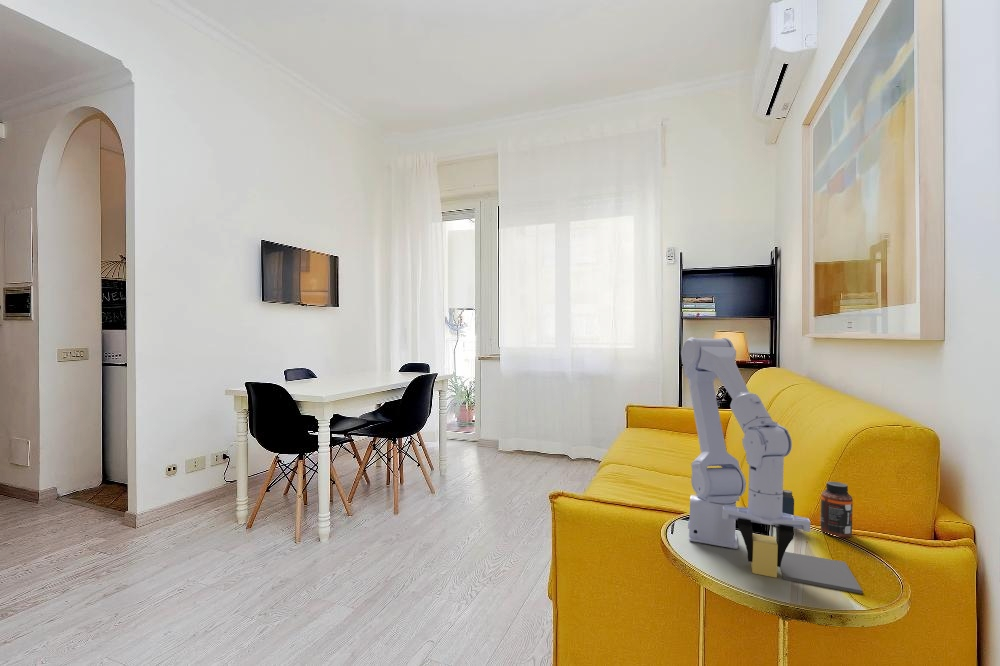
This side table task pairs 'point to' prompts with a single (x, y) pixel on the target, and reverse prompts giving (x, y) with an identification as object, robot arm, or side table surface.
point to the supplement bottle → (836, 510)
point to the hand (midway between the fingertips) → (763, 562)
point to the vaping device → (788, 502)
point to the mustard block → (764, 555)
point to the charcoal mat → (818, 572)
